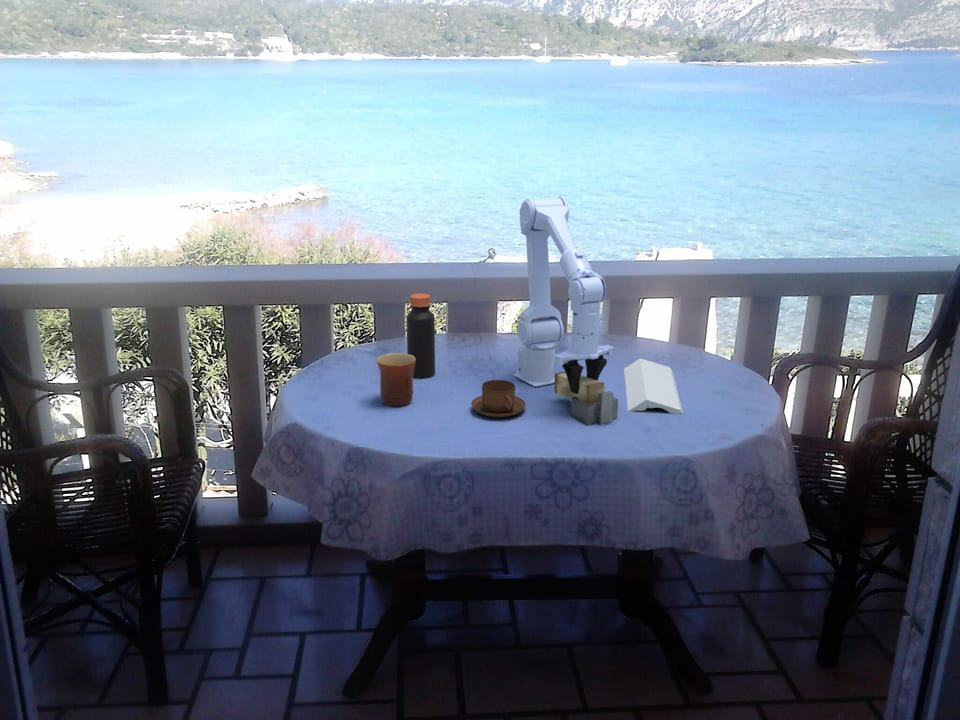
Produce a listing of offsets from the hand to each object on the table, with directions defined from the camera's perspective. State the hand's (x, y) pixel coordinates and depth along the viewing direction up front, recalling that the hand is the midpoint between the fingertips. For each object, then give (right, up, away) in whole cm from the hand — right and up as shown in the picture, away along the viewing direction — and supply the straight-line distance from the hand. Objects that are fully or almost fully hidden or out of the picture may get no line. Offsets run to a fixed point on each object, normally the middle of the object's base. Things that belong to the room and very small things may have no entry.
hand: (582, 390), depth 196 cm
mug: (-41, -2, +7) cm, 42 cm away
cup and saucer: (-19, -5, +1) cm, 19 cm away
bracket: (+3, -6, -3) cm, 7 cm away
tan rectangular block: (-1, -2, +2) cm, 2 cm away
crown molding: (+18, -1, +15) cm, 23 cm away
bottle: (-37, +3, +24) cm, 44 cm away
